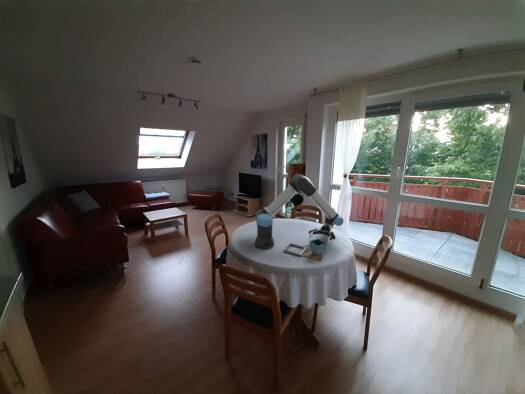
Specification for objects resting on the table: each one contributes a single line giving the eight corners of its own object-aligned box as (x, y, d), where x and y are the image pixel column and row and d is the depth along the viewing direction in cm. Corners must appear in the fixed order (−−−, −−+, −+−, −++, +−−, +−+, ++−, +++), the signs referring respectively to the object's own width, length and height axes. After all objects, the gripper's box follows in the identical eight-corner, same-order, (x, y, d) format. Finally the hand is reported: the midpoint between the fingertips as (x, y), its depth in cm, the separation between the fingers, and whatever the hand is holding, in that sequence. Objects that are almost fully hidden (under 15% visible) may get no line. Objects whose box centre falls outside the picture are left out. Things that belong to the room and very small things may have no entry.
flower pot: (316, 258, 143) (317, 246, 140) (308, 252, 150) (309, 241, 148) (326, 255, 147) (327, 243, 144) (317, 249, 154) (318, 238, 152)
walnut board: (303, 256, 146) (303, 255, 146) (308, 249, 157) (308, 248, 156) (320, 260, 141) (320, 259, 140) (324, 253, 151) (325, 252, 151)
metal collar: (283, 251, 152) (283, 249, 152) (290, 244, 163) (290, 242, 163) (300, 256, 146) (301, 254, 145) (307, 248, 157) (307, 247, 157)
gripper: (341, 236, 166) (335, 247, 148) (310, 230, 178) (302, 239, 161) (342, 228, 165) (336, 237, 147) (311, 222, 177) (302, 230, 159)
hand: (318, 238), depth 154 cm, fingers open, 13 cm apart
